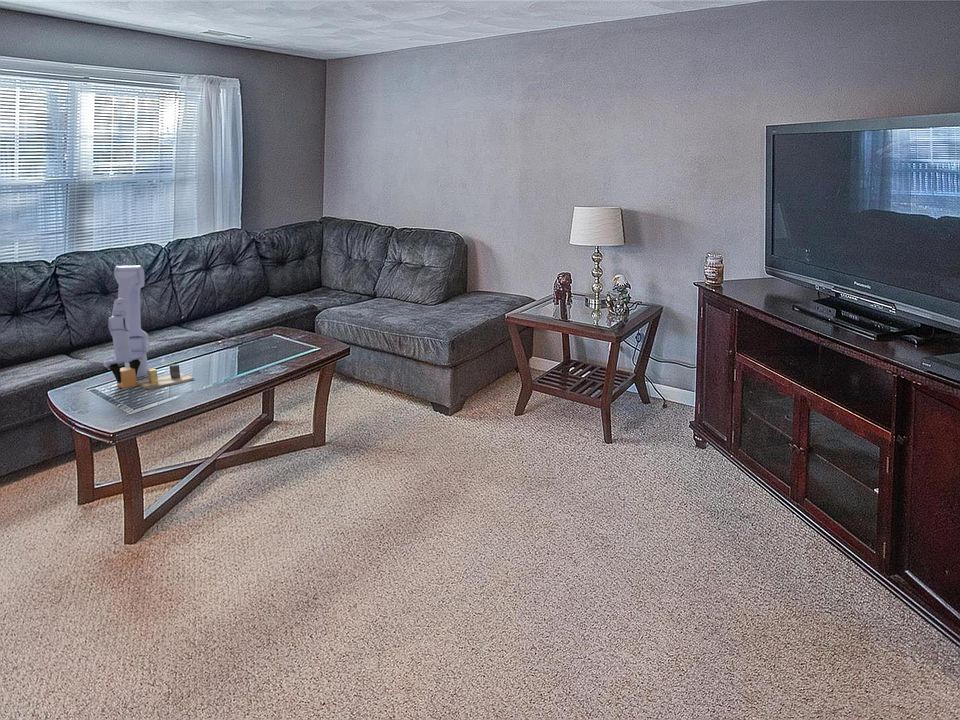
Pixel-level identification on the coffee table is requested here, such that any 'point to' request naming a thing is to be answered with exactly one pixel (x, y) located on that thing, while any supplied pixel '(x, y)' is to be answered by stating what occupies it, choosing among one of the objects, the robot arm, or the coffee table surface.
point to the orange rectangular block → (127, 377)
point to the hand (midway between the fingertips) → (126, 380)
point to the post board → (167, 379)
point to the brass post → (152, 376)
